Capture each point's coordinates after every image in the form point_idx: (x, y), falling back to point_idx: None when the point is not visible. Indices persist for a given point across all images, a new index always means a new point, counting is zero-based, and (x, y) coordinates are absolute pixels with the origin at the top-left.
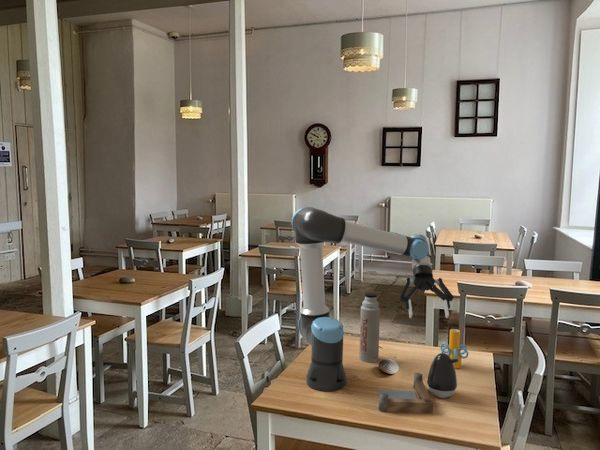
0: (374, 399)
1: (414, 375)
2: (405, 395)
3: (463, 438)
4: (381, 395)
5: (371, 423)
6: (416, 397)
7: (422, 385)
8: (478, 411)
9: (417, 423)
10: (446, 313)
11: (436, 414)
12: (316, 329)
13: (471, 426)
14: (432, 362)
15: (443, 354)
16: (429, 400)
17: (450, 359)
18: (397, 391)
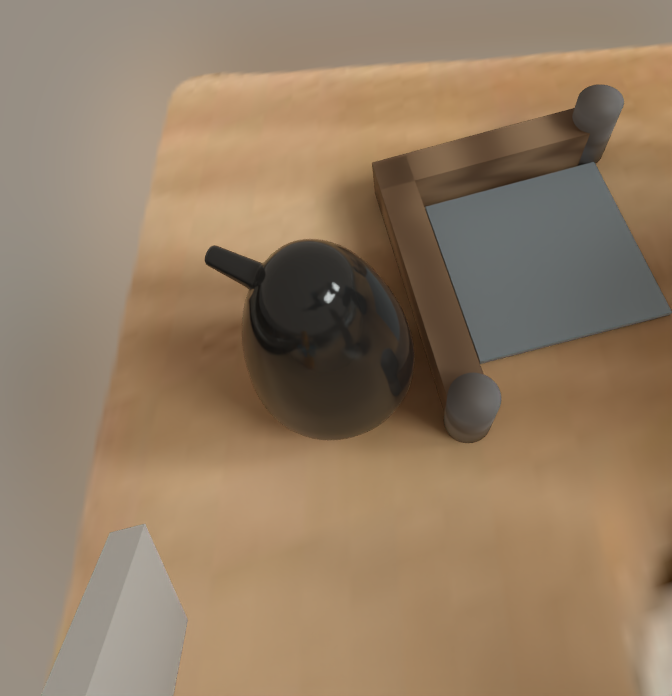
0: (651, 222)
1: (497, 387)
2: (514, 296)
3: (269, 77)
4: (610, 96)
5: (594, 51)
6: (458, 292)
7: (437, 321)
8: (187, 271)
9: (427, 107)
10: (146, 582)
11: (359, 190)
12: None
13: (232, 153)
14: (383, 299)
15: (300, 257)
16: (389, 179)
17: (256, 267)
18: (564, 325)
